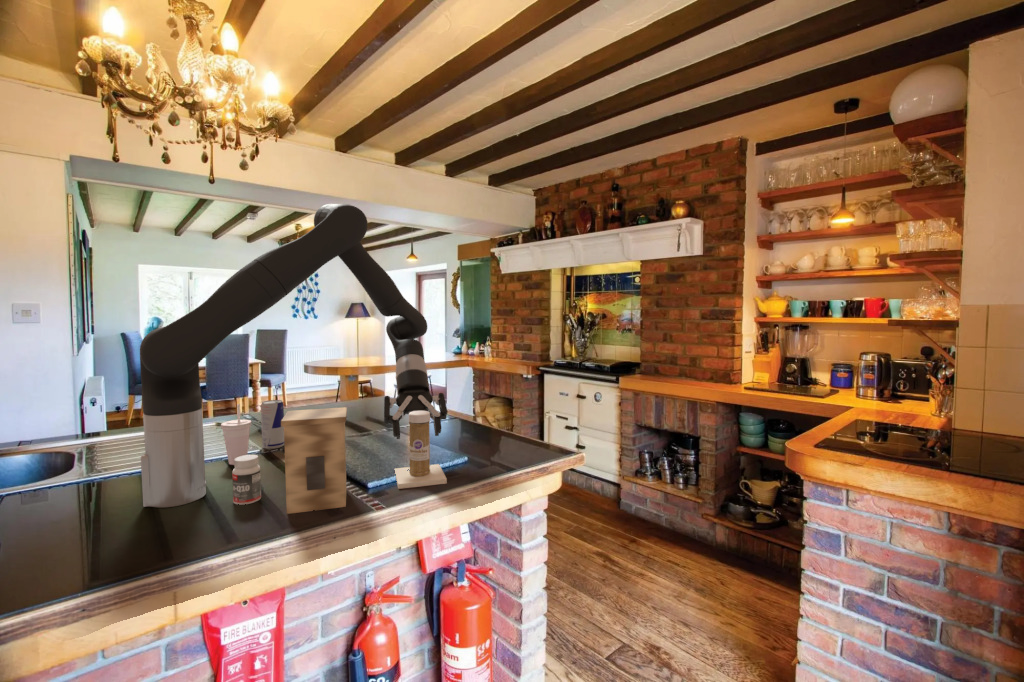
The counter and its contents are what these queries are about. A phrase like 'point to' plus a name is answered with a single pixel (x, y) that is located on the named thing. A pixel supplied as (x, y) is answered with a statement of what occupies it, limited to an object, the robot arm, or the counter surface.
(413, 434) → the sprinkles bottle
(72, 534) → the counter surface
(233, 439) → the smoothie
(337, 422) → the box
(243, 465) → the pill bottle
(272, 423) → the energy drink
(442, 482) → the tile
